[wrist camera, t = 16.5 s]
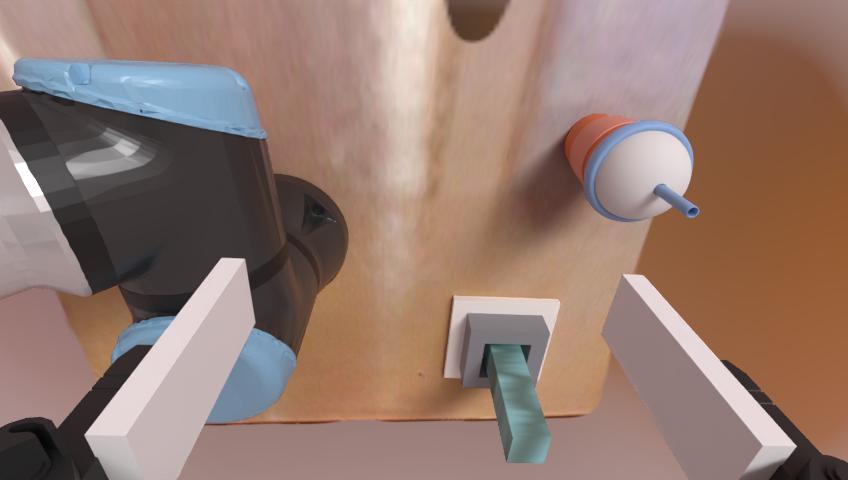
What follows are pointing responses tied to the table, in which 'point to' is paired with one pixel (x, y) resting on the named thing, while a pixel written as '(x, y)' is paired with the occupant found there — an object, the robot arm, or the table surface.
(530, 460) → the peg
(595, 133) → the cup with straw
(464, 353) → the socket block
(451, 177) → the table surface
